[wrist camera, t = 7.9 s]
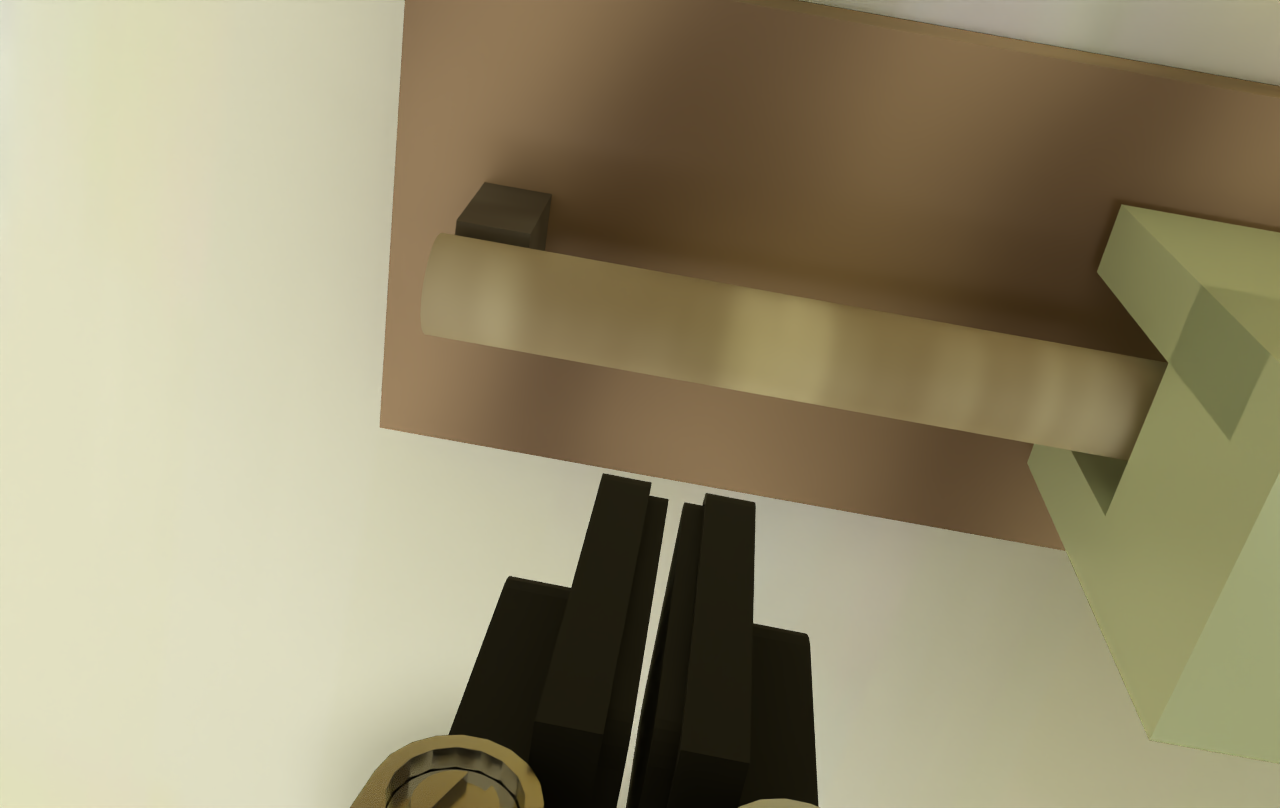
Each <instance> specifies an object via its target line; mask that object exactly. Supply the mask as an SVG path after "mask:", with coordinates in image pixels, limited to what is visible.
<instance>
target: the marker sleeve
mask: <svg viewBox="0 0 1280 808" xmlns="http://www.w3.org/2000/svg"><path fill="white" fill-rule="evenodd" d="M1097 273H1098V274H1099V275H1100V277H1101V278H1102V279H1103V280H1104V282H1105V283H1106V284H1107V286H1108V287H1109V288H1110V289H1111V291H1112V292H1113V293H1114V294H1115V296H1116V297H1117V298H1118V299H1119V301H1120V302H1121V303H1122V305H1123V306H1124V307H1125V308H1126V310H1127V311H1128V312H1129V313H1130V315H1131V316H1132V317H1133V319H1134V320H1135V321H1136V322H1137V324H1138V325H1139V326H1140V327H1141V329H1142V330H1143V331H1144V332H1145V334H1146V335H1147V336H1148V338H1149V339H1150V340H1151V341H1152V343H1153V344H1154V345H1155V346H1156V348H1157V349H1158V350H1159V352H1160V353H1161V354H1162V355H1163V357H1164V358H1165V359H1166V360H1167V362H1168V366H1167V368H1166V371H1165V373H1164V375H1163V378H1162V380H1161V383H1160V385H1159V388H1158V390H1157V392H1156V395H1155V397H1154V400H1153V402H1152V405H1151V407H1150V409H1149V412H1148V414H1147V417H1146V419H1145V422H1144V424H1143V426H1142V429H1141V431H1140V434H1139V436H1138V438H1137V441H1136V443H1135V446H1134V448H1133V451H1132V453H1131V455H1130V458H1129V460H1128V461H1127V460H1122V459H1116V458H1111V457H1105V456H1099V455H1094V454H1088V453H1083V452H1077V451H1072V450H1066V449H1060V448H1055V447H1049V446H1044V445H1038V444H1034V446H1033V448H1032V451H1031V454H1030V457H1029V459H1028V462H1027V464H1028V466H1029V468H1030V471H1031V473H1032V475H1033V477H1034V480H1035V482H1036V484H1037V487H1038V489H1039V491H1040V493H1041V496H1042V498H1043V500H1044V502H1045V505H1046V507H1047V509H1048V511H1049V514H1050V516H1051V518H1052V521H1053V523H1054V525H1055V527H1056V530H1057V532H1058V534H1059V536H1060V539H1061V541H1062V543H1063V545H1064V548H1065V550H1066V552H1067V555H1068V557H1069V559H1070V561H1071V564H1072V566H1073V568H1074V570H1075V573H1076V575H1077V577H1078V579H1079V582H1080V584H1081V586H1082V589H1083V591H1084V593H1085V595H1086V598H1087V600H1088V602H1089V604H1090V607H1091V609H1092V611H1093V613H1094V616H1095V618H1096V620H1097V623H1098V625H1099V627H1100V629H1101V632H1102V634H1103V636H1104V638H1105V641H1106V643H1107V645H1108V647H1109V650H1110V652H1111V654H1112V657H1113V659H1114V661H1115V663H1116V666H1117V668H1118V670H1119V672H1120V675H1121V677H1122V679H1123V682H1124V684H1125V686H1126V688H1127V691H1128V693H1129V695H1130V697H1131V700H1132V702H1133V704H1134V706H1135V709H1136V711H1137V713H1138V716H1139V718H1140V720H1141V722H1142V725H1143V727H1144V729H1145V731H1146V734H1147V736H1148V738H1149V740H1150V741H1156V742H1161V743H1167V744H1173V745H1178V746H1184V747H1189V748H1195V749H1200V750H1206V751H1211V752H1217V753H1222V754H1228V755H1234V756H1239V757H1245V758H1250V759H1256V760H1261V761H1267V762H1272V763H1278V764H1280V233H1279V232H1273V231H1268V230H1262V229H1257V228H1251V227H1245V226H1240V225H1234V224H1229V223H1223V222H1218V221H1212V220H1206V219H1201V218H1195V217H1190V216H1184V215H1178V214H1173V213H1167V212H1162V211H1156V210H1150V209H1145V208H1139V207H1134V206H1128V205H1122V204H1121V207H1120V210H1119V213H1118V215H1117V218H1116V221H1115V224H1114V226H1113V229H1112V232H1111V235H1110V237H1109V240H1108V243H1107V245H1106V248H1105V251H1104V254H1103V256H1102V259H1101V262H1100V265H1099V267H1098V270H1097Z"/></svg>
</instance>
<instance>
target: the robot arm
mask: <svg viewBox="0 0 1280 808" xmlns="http://www.w3.org/2000/svg"><path fill="white" fill-rule="evenodd" d="M650 489H651V482H646V481H640V480H635V479H630V478H625V477H619V476H614V475H609V474H604V473H603V475H602V478H601V482H600V485H599V489H598V493H597V496H596V500H595V504H594V507H593V511H592V514H591V518H590V522H589V525H588V529H587V533H586V536H585V540H584V543H583V547H582V551H581V554H580V558H579V562H578V565H577V569H576V572H575V576H574V580H573V583H572V587H571V588H568V587H563V586H558V585H553V584H548V583H543V582H537V581H532V580H527V579H522V578H517V577H512V576H509V577H508V578H507V580H506V582H505V584H504V587H503V589H502V592H501V595H500V598H499V600H498V603H497V606H496V608H495V611H494V614H493V616H492V619H491V622H490V625H489V627H488V630H487V633H486V635H485V638H484V641H483V643H482V646H481V649H480V652H479V654H478V657H477V660H476V662H475V665H474V668H473V670H472V673H471V676H470V679H469V681H468V684H467V687H466V689H465V692H464V695H463V697H462V700H461V703H460V706H459V708H458V711H457V714H456V716H455V719H454V722H453V724H452V727H451V730H450V733H449V735H442V736H434V737H430V738H426V739H422V740H419V741H415V742H412V743H410V744H408V745H406V746H404V747H403V748H401V749H399V750H397V751H396V752H394V753H392V754H390V755H389V756H388V757H387V759H386V760H385V761H384V762H383V763H382V764H381V765H380V766H379V767H378V768H377V769H376V770H375V771H374V773H373V774H372V776H371V777H370V779H369V780H368V782H367V783H366V785H365V786H364V788H363V789H362V791H361V792H360V794H359V795H358V797H357V798H356V800H355V801H354V803H353V804H352V806H351V807H350V808H616V807H617V802H618V797H619V792H620V787H621V782H622V777H623V773H624V768H625V763H626V757H627V752H628V747H629V741H630V736H631V730H632V724H633V718H634V712H635V706H636V700H637V694H638V687H639V681H640V675H641V669H642V663H643V656H644V650H645V644H646V638H647V631H648V625H649V619H650V613H651V606H652V600H653V594H654V588H655V581H656V575H657V569H658V563H659V556H660V550H661V544H662V538H663V531H664V525H665V519H666V513H667V506H668V499H664V498H659V497H654V496H649V494H650ZM755 511H756V506H755V503H754V502H750V501H745V500H739V499H734V498H729V497H724V496H718V495H713V494H708V493H706V494H705V498H704V501H703V506H701V505H696V504H690V503H685V502H684V505H683V509H682V514H681V519H680V524H679V529H678V533H677V538H676V543H675V548H674V553H673V558H672V563H671V567H670V572H669V577H668V582H667V587H666V592H665V597H664V601H663V606H662V611H661V616H660V621H659V626H658V631H657V635H656V640H655V645H654V650H653V655H652V660H651V665H650V669H649V674H648V679H647V684H646V689H645V694H644V699H643V704H642V709H641V715H640V721H639V726H638V733H637V739H636V746H635V752H634V759H633V765H632V772H631V779H630V785H629V792H628V798H627V805H626V808H819V807H818V790H817V771H816V751H815V732H814V713H813V693H812V674H811V654H810V642H809V637H808V635H807V634H805V633H800V632H794V631H789V630H784V629H779V628H774V627H769V626H764V625H758V624H753V600H754V556H755Z"/></svg>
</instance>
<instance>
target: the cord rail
mask: <svg viewBox="0 0 1280 808" xmlns="http://www.w3.org/2000/svg"><path fill="white" fill-rule="evenodd" d="M1121 204H1122V205H1128V206H1134V207H1139V208H1145V209H1150V210H1156V211H1162V212H1167V213H1173V214H1178V215H1184V216H1190V217H1195V218H1201V219H1206V220H1212V221H1218V222H1223V223H1229V224H1234V225H1240V226H1245V227H1251V228H1257V229H1262V230H1268V231H1273V232H1279V233H1280V86H1275V85H1269V84H1264V83H1258V82H1252V81H1247V80H1241V79H1235V78H1230V77H1224V76H1219V75H1213V74H1207V73H1202V72H1196V71H1191V70H1185V69H1179V68H1174V67H1168V66H1163V65H1157V64H1151V63H1146V62H1140V61H1135V60H1129V59H1123V58H1118V57H1112V56H1106V55H1101V54H1095V53H1090V52H1084V51H1078V50H1073V49H1067V48H1062V47H1056V46H1050V45H1045V44H1039V43H1034V42H1028V41H1022V40H1017V39H1011V38H1006V37H1000V36H994V35H989V34H983V33H977V32H972V31H966V30H961V29H955V28H949V27H944V26H938V25H933V24H927V23H921V22H916V21H910V20H905V19H899V18H893V17H888V16H882V15H877V14H871V13H865V12H860V11H854V10H849V9H843V8H837V7H832V6H826V5H820V4H815V3H809V2H804V1H798V0H405V9H404V25H403V42H402V59H401V76H400V93H399V110H398V127H397V143H396V160H395V177H394V194H393V211H392V228H391V245H390V261H389V278H388V295H387V312H386V329H385V346H384V362H383V379H382V396H381V413H380V428H386V429H392V430H397V431H403V432H408V433H414V434H419V435H425V436H430V437H436V438H442V439H447V440H453V441H458V442H464V443H469V444H475V445H480V446H486V447H492V448H497V449H503V450H508V451H514V452H519V453H525V454H531V455H536V456H542V457H547V458H553V459H558V460H564V461H569V462H575V463H581V464H586V465H592V466H597V467H603V468H608V469H614V470H620V471H625V472H631V473H636V474H642V475H647V476H653V477H658V478H664V479H670V480H675V481H681V482H686V483H692V484H697V485H703V486H708V487H714V488H720V489H725V490H731V491H736V492H742V493H747V494H753V495H759V496H764V497H770V498H775V499H781V500H786V501H792V502H797V503H803V504H809V505H814V506H820V507H825V508H831V509H836V510H842V511H847V512H853V513H859V514H864V515H870V516H875V517H881V518H886V519H892V520H898V521H903V522H909V523H914V524H920V525H925V526H931V527H936V528H942V529H948V530H953V531H959V532H964V533H970V534H975V535H981V536H987V537H992V538H998V539H1003V540H1009V541H1014V542H1020V543H1025V544H1031V545H1037V546H1042V547H1048V548H1053V549H1059V550H1064V551H1066V550H1065V548H1064V545H1063V543H1062V541H1061V539H1060V536H1059V534H1058V532H1057V530H1056V527H1055V525H1054V523H1053V521H1052V518H1051V516H1050V514H1049V511H1048V509H1047V507H1046V505H1045V502H1044V500H1043V498H1042V496H1041V493H1040V491H1039V489H1038V487H1037V484H1036V482H1035V480H1034V477H1033V475H1032V473H1031V471H1030V468H1029V466H1028V464H1027V462H1028V459H1029V457H1030V454H1031V451H1032V448H1033V446H1034V444H1038V445H1044V446H1049V447H1055V448H1060V449H1066V450H1072V451H1077V452H1083V453H1088V454H1094V455H1099V456H1105V457H1111V458H1116V459H1122V460H1127V461H1128V460H1129V458H1130V455H1131V453H1132V451H1133V448H1134V446H1135V443H1136V441H1137V438H1138V436H1139V434H1140V431H1141V429H1142V426H1143V424H1144V422H1145V419H1146V417H1147V414H1148V412H1149V409H1150V407H1151V405H1152V402H1153V400H1154V397H1155V395H1156V392H1157V390H1158V388H1159V385H1160V383H1161V380H1162V378H1163V375H1164V373H1165V371H1166V368H1167V366H1168V362H1167V360H1166V359H1165V358H1164V357H1163V355H1162V354H1161V353H1160V352H1159V350H1158V349H1157V348H1156V346H1155V345H1154V344H1153V343H1152V341H1151V340H1150V339H1149V338H1148V336H1147V335H1146V334H1145V332H1144V331H1143V330H1142V329H1141V327H1140V326H1139V325H1138V324H1137V322H1136V321H1135V320H1134V319H1133V317H1132V316H1131V315H1130V313H1129V312H1128V311H1127V310H1126V308H1125V307H1124V306H1123V305H1122V303H1121V302H1120V301H1119V299H1118V298H1117V297H1116V296H1115V294H1114V293H1113V292H1112V291H1111V289H1110V288H1109V287H1108V286H1107V284H1106V283H1105V282H1104V280H1103V279H1102V278H1101V277H1100V275H1099V274H1098V273H1097V270H1098V267H1099V265H1100V262H1101V259H1102V256H1103V254H1104V251H1105V248H1106V245H1107V243H1108V240H1109V237H1110V235H1111V232H1112V229H1113V226H1114V224H1115V221H1116V218H1117V215H1118V213H1119V210H1120V207H1121Z"/></svg>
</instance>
